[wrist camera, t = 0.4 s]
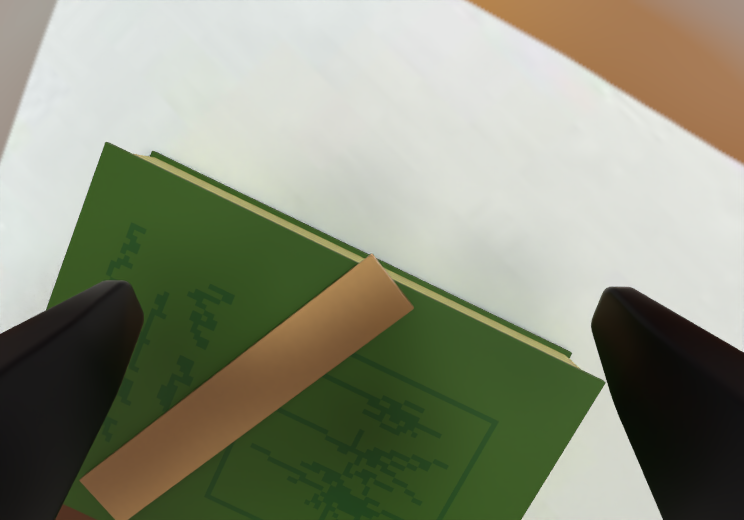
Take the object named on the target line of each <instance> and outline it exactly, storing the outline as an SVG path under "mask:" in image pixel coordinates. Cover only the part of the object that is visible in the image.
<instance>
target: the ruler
mask: <svg viewBox="0 0 744 520" xmlns="http://www.w3.org/2000/svg"><path fill="white" fill-rule="evenodd" d="M413 309H414V306H413V305H412V303H411V302H410V301H409V300H408V298H407V297H406V296H405V294H404V293H403V292H402V291H401V289H400V288H399V287H398V286H397V284H396V283H395V282H394V280H393V279H392V278H391V277H390V275H389V274H388V273H387V272H386V270H385V269H384V268H383V267H382V265H381V264H380V263H379V261H378V260H377V259H376V258H375V256H374V255H373V254H370V255H369V256H367V257H366V258H365V259H364V260H362V261H361V262H360V263H358V264H357V265H356V266H355V267H353V268H352V269H351V270H349V271H348V272H347V273H345V274H344V275H343V276H342V277H340V278H339V279H338V280H336V281H335V282H334V283H333V284H331V285H330V286H329V287H327V288H326V289H325V290H323V291H322V292H321V293H320V294H318V295H317V296H316V297H314V298H313V299H312V300H311V301H309V302H308V303H307V304H305V305H304V306H303V307H301V308H300V309H299V310H298V311H296V312H295V313H294V314H292V315H291V316H290V317H289V318H287V319H286V320H285V321H283V322H282V323H281V324H279V325H278V326H277V327H276V328H274V329H273V330H272V331H270V332H269V333H268V334H267V335H265V336H264V337H263V338H261V339H260V340H259V341H257V342H256V343H255V344H254V345H252V346H251V347H250V348H248V349H247V350H246V351H245V352H243V353H242V354H241V355H239V356H238V357H237V358H235V359H234V360H233V361H232V362H230V363H229V364H228V365H226V366H225V367H224V368H223V369H221V370H220V371H219V372H217V373H216V374H215V375H213V376H212V377H211V378H210V379H208V380H207V381H206V382H204V383H203V384H202V385H200V386H199V387H198V388H197V389H195V390H194V391H193V392H191V393H190V394H189V395H188V396H186V397H185V398H184V399H182V400H181V401H180V402H178V403H177V404H176V405H175V406H173V407H172V408H171V409H169V410H168V411H167V412H166V413H164V414H163V415H162V416H160V417H159V418H158V419H156V420H155V421H154V422H153V423H151V424H150V425H149V426H147V427H146V428H145V429H144V430H142V431H141V432H140V433H138V434H137V435H136V436H134V437H133V438H132V439H131V440H129V441H128V442H127V443H125V444H124V445H123V446H122V447H120V448H119V449H118V450H116V451H115V452H114V453H112V454H111V455H110V456H109V457H107V458H106V459H105V460H103V461H102V462H101V463H100V464H98V465H97V466H96V467H94V468H93V469H92V470H90V471H89V472H88V473H87V474H85V475H84V476H83V477H82V478H81V479H80V480H79V481H80V482H81V483H82V484H83V485H84V486H85V487H86V488H87V489H88V491H89V492H90V493H91V494H92V495H93V496H94V497H95V498H96V499H97V500H98V501H99V502H100V504H101V505H102V506H103V507H104V508H105V509H106V510H107V511H108V512H109V513H110V514H111V516H112V517H113V518H114V519H115V520H128V519H129V518H131V517H132V516H133V515H135V514H136V513H138V512H139V511H140V510H142V509H143V508H144V507H146V506H147V505H148V504H150V503H151V502H152V501H154V500H155V499H157V498H158V497H159V496H161V495H162V494H163V493H165V492H166V491H167V490H169V489H170V488H171V487H173V486H174V485H176V484H177V483H178V482H180V481H181V480H182V479H184V478H185V477H186V476H188V475H189V474H190V473H192V472H193V471H195V470H196V469H197V468H199V467H200V466H201V465H203V464H204V463H205V462H207V461H208V460H209V459H211V458H212V457H214V456H215V455H216V454H218V453H219V452H220V451H222V450H223V449H224V448H226V447H227V446H228V445H230V444H231V443H232V442H234V441H235V440H237V439H238V438H239V437H241V436H242V435H243V434H245V433H246V432H247V431H249V430H250V429H251V428H253V427H254V426H256V425H257V424H258V423H260V422H261V421H262V420H264V419H265V418H266V417H268V416H269V415H270V414H272V413H273V412H275V411H276V410H277V409H279V408H280V407H281V406H283V405H284V404H285V403H287V402H288V401H289V400H291V399H292V398H294V397H295V396H296V395H298V394H299V393H300V392H302V391H303V390H304V389H306V388H307V387H308V386H310V385H311V384H313V383H314V382H315V381H317V380H318V379H319V378H321V377H322V376H323V375H325V374H326V373H327V372H329V371H330V370H332V369H333V368H334V367H336V366H337V365H338V364H340V363H341V362H342V361H344V360H345V359H346V358H348V357H349V356H351V355H352V354H353V353H355V352H356V351H357V350H359V349H360V348H361V347H363V346H364V345H365V344H367V343H368V342H370V341H371V340H372V339H374V338H375V337H376V336H378V335H379V334H380V333H382V332H383V331H384V330H386V329H387V328H389V327H390V326H391V325H393V324H394V323H395V322H397V321H398V320H399V319H401V318H402V317H403V316H405V315H406V314H408V313H409V312H410V311H412V310H413Z"/></svg>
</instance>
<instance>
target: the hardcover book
mask: <svg viewBox="0 0 744 520" xmlns="http://www.w3.org/2000/svg"><path fill="white" fill-rule="evenodd" d="M367 256H369V254H367V253H365V252H363V251H360V250H358V249H356V248H354V247H352V246H350V245H348V244H346V243H344V242H342V241H340V240H338V239H336V238H333V237H331V236H329V235H327V234H325V233H323V232H321V231H319V230H317V229H315V228H313V227H311V226H309V225H307V224H304V223H302V222H300V221H298V220H296V219H294V218H292V217H290V216H288V215H286V214H284V213H282V212H280V211H277V210H275V209H273V208H271V207H269V206H267V205H265V204H263V203H261V202H259V201H257V200H255V199H253V198H251V197H248V196H246V195H244V194H242V193H240V192H238V191H236V190H234V189H232V188H230V187H228V186H226V185H224V184H221V183H219V182H217V181H215V180H213V179H211V178H209V177H207V176H205V175H203V174H201V173H199V172H197V171H194V170H192V169H190V168H188V167H186V166H184V165H182V164H180V163H178V162H176V161H174V160H172V159H170V158H168V157H165V156H163V155H161V154H159V153H157V152H155V151H152V152H151V155H150V157H149V156H143V155H137V154H132V153H130V152H128V151H126V150H124V149H122V148H119V147H117V146H115V145H113V144H111V143H108V142H105V145H104V148H103V151H102V153H101V156H100V159H99V162H98V165H97V167H96V170H95V173H94V176H93V179H92V182H91V184H90V187H89V190H88V193H87V196H86V199H85V201H84V204H83V207H82V210H81V213H80V215H79V218H78V221H77V224H76V227H75V230H74V232H73V235H72V238H71V241H70V244H69V246H68V249H67V252H66V255H65V258H64V261H63V263H62V266H61V269H60V272H59V275H58V278H57V280H56V283H55V286H54V289H53V292H52V294H51V297H50V300H49V303H48V306H47V309H46V310H48V309H50V308H52V307H54V306H56V305H58V304H60V303H61V302H63V301H65V300H67V299H69V298H71V297H73V296H75V295H77V294H79V293H81V292H83V291H85V290H87V289H89V288H91V287H93V286H95V285H96V284H98V283H100V282H103V281H106V280H124V281H127V282H129V283H130V284H131V285H132V287H133V289H134V292H135V294H136V296H137V299H138V301H139V303H140V305H141V308H142V310H143V313H144V323H143V326H142V329H141V332H140V335H139V337H138V340H137V343H136V345H135V348H134V351H133V354H132V356H131V359H130V362H129V364H128V367H127V370H126V372H125V375H124V378H123V381H122V383H121V386H120V388H119V391H118V393H117V395H116V397H115V400H114V402H113V404H112V406H111V408H110V410H109V412H108V414H107V416H106V418H105V420H104V422H103V424H102V426H101V428H100V430H99V432H98V434H97V436H96V438H95V440H94V442H93V444H92V446H91V448H90V450H89V452H88V454H87V457H86V459H85V461H84V463H83V465H82V467H81V469H80V471H79V473H78V475H77V477H76V479H75V481H74V483H73V485H72V487H71V489H70V491H69V493H68V495H67V497H66V499H65V501H64V503H63V505H62V507H61V509H60V511H59V513H58V515H57V517H56V519H55V520H115V519H114V518H113V517H112V516H111V514H110V513H109V512H108V511H107V510H106V509H105V508H104V507H103V506H102V505H101V504H100V502H99V501H98V500H97V499H96V498H95V497H94V496H93V495H92V494H91V493H90V492H89V491H88V489H87V488H86V487H85V486H84V485H83V484H82V483H81V482H80V481H79V480H80V479H81V478H82V477H83V476H84V475H85V474H87V473H88V472H89V471H90V470H92V469H93V468H94V467H96V466H97V465H98V464H100V463H101V462H102V461H103V460H105V459H106V458H107V457H109V456H110V455H111V454H112V453H114V452H115V451H116V450H118V449H119V448H120V447H122V446H123V445H124V444H125V443H127V442H128V441H129V440H131V439H132V438H133V437H134V436H136V435H137V434H138V433H140V432H141V431H142V430H144V429H145V428H146V427H147V426H149V425H150V424H151V423H153V422H154V421H155V420H156V419H158V418H159V417H160V416H162V415H163V414H164V413H166V412H167V411H168V410H169V409H171V408H172V407H173V406H175V405H176V404H177V403H178V402H180V401H181V400H182V399H184V398H185V397H186V396H188V395H189V394H190V393H191V392H193V391H194V390H195V389H197V388H198V387H199V386H200V385H202V384H203V383H204V382H206V381H207V380H208V379H210V378H211V377H212V376H213V375H215V374H216V373H217V372H219V371H220V370H221V369H223V368H224V367H225V366H226V365H228V364H229V363H230V362H232V361H233V360H234V359H235V358H237V357H238V356H239V355H241V354H242V353H243V352H245V351H246V350H247V349H248V348H250V347H251V346H252V345H254V344H255V343H256V342H257V341H259V340H260V339H261V338H263V337H264V336H265V335H267V334H268V333H269V332H270V331H272V330H273V329H274V328H276V327H277V326H278V325H279V324H281V323H282V322H283V321H285V320H286V319H287V318H289V317H290V316H291V315H292V314H294V313H295V312H296V311H298V310H299V309H300V308H301V307H303V306H304V305H305V304H307V303H308V302H309V301H311V300H312V299H313V298H314V297H316V296H317V295H318V294H320V293H321V292H322V291H323V290H325V289H326V288H327V287H329V286H330V285H331V284H333V283H334V282H335V281H336V280H338V279H339V278H340V277H342V276H343V275H344V274H345V273H347V272H348V271H349V270H351V269H352V268H353V267H355V266H356V265H357V264H358V263H360V262H361V261H362V260H364V259H365V258H366V257H367ZM376 259H377V258H376ZM377 260H378V261H379V263H380V264H381V265H382V267H383V268H384V269H385V270H386V272H387V273H388V274H389V275H390V277H391V278H392V279H393V280H394V282H395V283H396V284H397V286H398V287H399V288H400V289H401V291H402V292H403V293H404V294H405V296H406V297H407V298H408V300H409V301H410V302H411V303H412V305H413V306H414V309H413V310H412V311H410V312H409V313H408V314H406V315H405V316H403V317H402V318H401V319H399V320H398V321H397V322H395V323H394V324H393V325H391V326H390V327H389V328H387V329H386V330H384V331H383V332H382V333H380V334H379V335H378V336H376V337H375V338H374V339H372V340H371V341H370V342H368V343H367V344H365V345H364V346H363V347H361V348H360V349H359V350H357V351H356V352H355V353H353V354H352V355H351V356H349V357H348V358H346V359H345V360H344V361H342V362H341V363H340V364H338V365H337V366H336V367H334V368H333V369H332V370H330V371H329V372H327V373H326V374H325V375H323V376H322V377H321V378H319V379H318V380H317V381H315V382H314V383H313V384H311V385H310V386H308V387H307V388H306V389H304V390H303V391H302V392H300V393H299V394H298V395H296V396H295V397H294V398H292V399H291V400H289V401H288V402H287V403H285V404H284V405H283V406H281V407H280V408H279V409H277V410H276V411H275V412H273V413H272V414H270V415H269V416H268V417H266V418H265V419H264V420H262V421H261V422H260V423H258V424H257V425H256V426H254V427H253V428H251V429H250V430H249V431H247V432H246V433H245V434H243V435H242V436H241V437H239V438H238V439H237V440H235V441H234V442H232V443H231V444H230V445H228V446H227V447H226V448H224V449H223V450H222V451H220V452H219V453H218V454H216V455H215V456H214V457H212V458H211V459H209V460H208V461H207V462H205V463H204V464H203V465H201V466H200V467H199V468H197V469H196V470H195V471H193V472H192V473H190V474H189V475H188V476H186V477H185V478H184V479H182V480H181V481H180V482H178V483H177V484H176V485H174V486H173V487H171V488H170V489H169V490H167V491H166V492H165V493H163V494H162V495H161V496H159V497H158V498H157V499H155V500H154V501H152V502H151V503H150V504H148V505H147V506H146V507H144V508H143V509H142V510H140V511H139V512H138V513H136V514H135V515H133V516H132V517H131V518H129V519H128V520H521V519H522V517H523V516H524V514H525V513H526V511H527V509H528V508H529V506H530V505H531V503H532V501H533V500H534V498H535V496H536V495H537V493H538V492H539V490H540V488H541V487H542V485H543V483H544V482H545V480H546V479H547V477H548V475H549V474H550V472H551V470H552V469H553V467H554V466H555V464H556V462H557V461H558V459H559V457H560V456H561V454H562V453H563V451H564V449H565V448H566V446H567V444H568V443H569V441H570V440H571V438H572V436H573V435H574V433H575V432H576V430H577V428H578V427H579V425H580V423H581V422H582V420H583V419H584V417H585V415H586V414H587V412H588V410H589V409H590V407H591V406H592V404H593V402H594V401H595V399H596V397H597V396H598V394H599V393H600V391H601V389H602V388H603V386H604V384H605V382H604V381H603V380H601V379H599V378H597V377H595V376H593V375H591V374H589V373H587V372H585V371H583V370H581V369H580V368H579V367H578V366H577V365H575V364H574V363H573V362H572V361H571V360H570V359H569V358H570V356H571V354H572V353H571V352H570V351H568V350H566V349H564V348H562V347H560V346H558V345H555V344H553V343H551V342H549V341H547V340H545V339H543V338H541V337H539V336H537V335H535V334H533V333H531V332H529V331H526V330H524V329H522V328H520V327H518V326H516V325H514V324H512V323H510V322H508V321H506V320H504V319H502V318H499V317H497V316H495V315H493V314H491V313H489V312H487V311H485V310H483V309H481V308H479V307H477V306H475V305H473V304H470V303H468V302H466V301H464V300H462V299H460V298H458V297H456V296H454V295H452V294H450V293H448V292H446V291H443V290H441V289H439V288H437V287H435V286H433V285H431V284H429V283H427V282H425V281H423V280H421V279H419V278H416V277H414V276H412V275H410V274H408V273H406V272H404V271H402V270H400V269H398V268H396V267H394V266H392V265H390V264H387V263H385V262H383V261H381V260H379V259H377Z"/></svg>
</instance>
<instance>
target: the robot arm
mask: <svg viewBox="0 0 744 520" xmlns="http://www.w3.org/2000/svg"><path fill="white" fill-rule="evenodd" d="M143 323H144V313H143V310H142V308H141V305H140V303H139V301H138V299H137V296H136V294H135V292H134V289H133V287H132V285H131V284H130V283H129V282H127V281H124V280H106V281H103V282H100V283H98V284H96V285H95V286H93V287H91V288H89V289H87V290H85V291H83V292H81V293H79V294H77V295H75V296H73V297H71V298H69V299H67V300H65V301H63V302H61V303H60V304H58V305H56V306H54V307H52V308H50V309H48V310H46V311H44V312H42V313H40V314H38V315H36V316H34V317H32V318H30V319H28V320H26V321H25V322H23V323H21V324H19V325H17V326H15V327H13V328H11V329H9V330H7V331H5V332H3V333H1V334H0V520H55V519H56V517H57V515H58V513H59V511H60V509H61V507H62V505H63V503H64V501H65V499H66V497H67V495H68V493H69V491H70V489H71V487H72V485H73V483H74V481H75V479H76V477H77V475H78V473H79V471H80V469H81V467H82V465H83V463H84V461H85V459H86V457H87V454H88V452H89V450H90V448H91V446H92V444H93V442H94V440H95V438H96V436H97V434H98V432H99V430H100V428H101V426H102V424H103V422H104V420H105V418H106V416H107V414H108V412H109V410H110V408H111V406H112V404H113V402H114V400H115V397H116V395H117V393H118V391H119V388H120V386H121V383H122V381H123V378H124V375H125V372H126V370H127V367H128V364H129V362H130V359H131V356H132V354H133V351H134V348H135V345H136V343H137V340H138V337H139V335H140V332H141V329H142V326H143ZM591 328H592V333H593V337H594V340H595V343H596V347H597V350H598V353H599V357H600V360H601V363H602V367H603V370H604V373H605V377H606V380H607V383H608V387H609V390H610V393H611V396H612V399H613V402H614V405H615V407H616V410H617V412H618V415H619V417H620V420H621V422H622V424H623V427H624V429H625V432H626V434H627V436H628V439H629V441H630V443H631V446H632V448H633V450H634V453H635V455H636V457H637V460H638V462H639V464H640V467H641V469H642V471H643V474H644V476H645V478H646V481H647V483H648V485H649V488H650V490H651V492H652V495H653V497H654V499H655V502H656V504H657V506H658V509H659V511H660V514H661V516H662V518H663V520H744V352H742V351H740V350H738V349H737V348H735V347H733V346H732V345H730V344H728V343H726V342H725V341H723V340H721V339H720V338H718V337H716V336H714V335H713V334H711V333H709V332H707V331H706V330H704V329H702V328H701V327H699V326H697V325H695V324H694V323H692V322H690V321H689V320H687V319H685V318H683V317H682V316H680V315H678V314H677V313H675V312H673V311H671V310H670V309H668V308H666V307H664V306H663V305H661V304H659V303H658V302H656V301H654V300H652V299H651V298H649V297H647V296H646V295H644V294H642V293H640V292H639V291H637V290H635V289H633V288H631V287H608V288H606V289H605V290H604V291H603V293H602V296H601V298H600V301H599V303H598V305H597V308H596V310H595V313H594V315H593V318H592V322H591Z"/></svg>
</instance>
